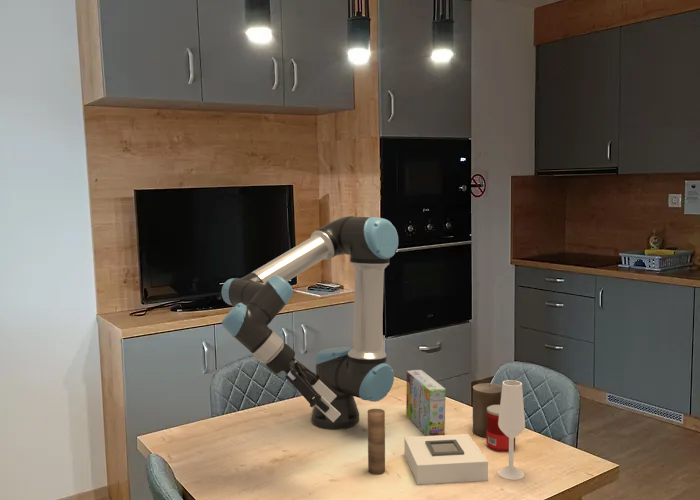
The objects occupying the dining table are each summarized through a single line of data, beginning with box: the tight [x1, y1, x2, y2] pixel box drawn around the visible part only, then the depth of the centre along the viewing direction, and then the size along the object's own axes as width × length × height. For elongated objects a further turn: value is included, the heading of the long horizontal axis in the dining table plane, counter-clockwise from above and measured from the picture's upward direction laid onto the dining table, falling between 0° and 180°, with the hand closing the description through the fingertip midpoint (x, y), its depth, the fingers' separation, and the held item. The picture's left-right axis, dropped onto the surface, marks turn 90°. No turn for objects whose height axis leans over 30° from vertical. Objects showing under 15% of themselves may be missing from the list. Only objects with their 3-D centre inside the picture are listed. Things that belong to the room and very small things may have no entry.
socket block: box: [403, 433, 489, 485], centre depth 172 cm, size 18×18×6 cm
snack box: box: [405, 369, 447, 436], centre depth 200 cm, size 21×6×15 cm, turn 14°
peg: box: [367, 408, 386, 476], centre depth 170 cm, size 4×4×16 cm
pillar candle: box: [472, 382, 502, 438], centre depth 195 cm, size 10×10×15 cm
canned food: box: [485, 405, 516, 453], centre depth 185 cm, size 8×8×11 cm
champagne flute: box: [497, 379, 526, 481], centre depth 167 cm, size 7×7×24 cm
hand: (335, 408), depth 168 cm, fingers open, 13 cm apart
